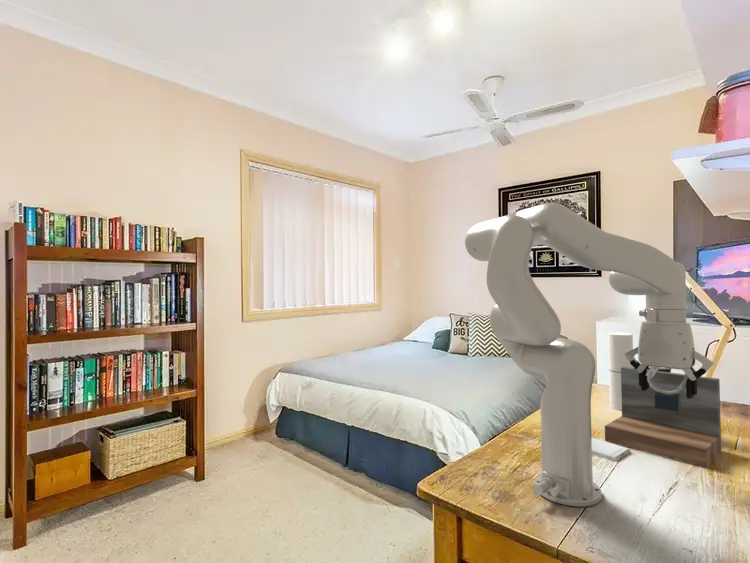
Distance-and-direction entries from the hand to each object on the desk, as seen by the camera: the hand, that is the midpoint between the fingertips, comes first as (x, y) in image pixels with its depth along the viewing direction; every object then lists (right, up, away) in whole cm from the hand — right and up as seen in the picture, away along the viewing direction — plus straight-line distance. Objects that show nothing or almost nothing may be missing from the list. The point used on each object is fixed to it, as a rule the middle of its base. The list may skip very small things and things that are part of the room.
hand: (667, 393), depth 95 cm
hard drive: (-9, -19, +13) cm, 24 cm away
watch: (0, -3, 0) cm, 3 cm away
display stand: (+8, -17, +14) cm, 24 cm away
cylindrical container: (+17, -18, +46) cm, 52 cm away
